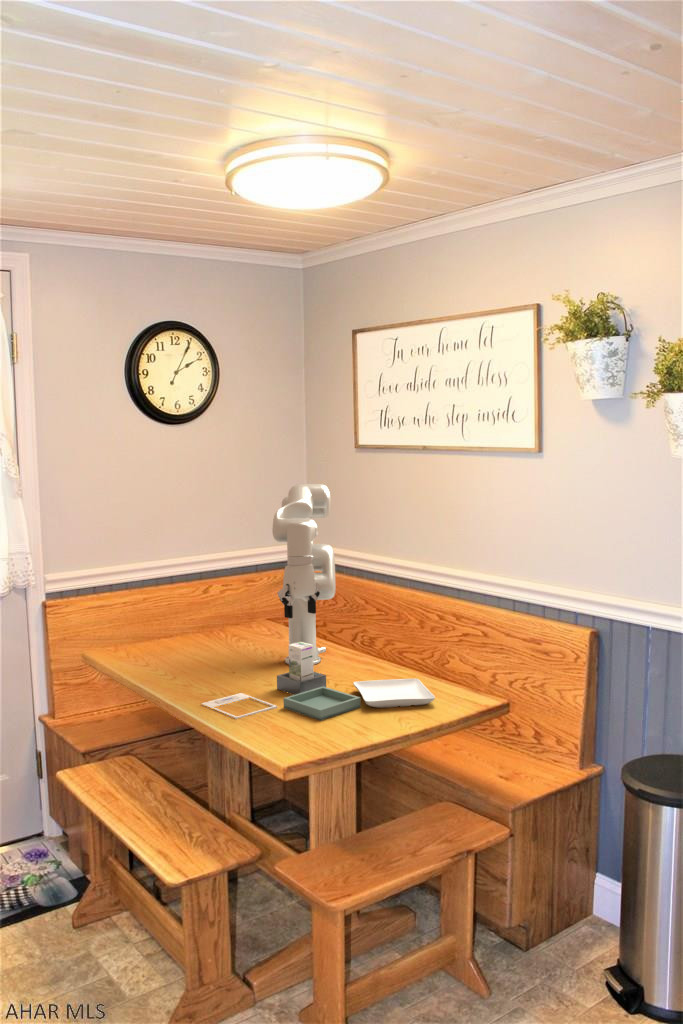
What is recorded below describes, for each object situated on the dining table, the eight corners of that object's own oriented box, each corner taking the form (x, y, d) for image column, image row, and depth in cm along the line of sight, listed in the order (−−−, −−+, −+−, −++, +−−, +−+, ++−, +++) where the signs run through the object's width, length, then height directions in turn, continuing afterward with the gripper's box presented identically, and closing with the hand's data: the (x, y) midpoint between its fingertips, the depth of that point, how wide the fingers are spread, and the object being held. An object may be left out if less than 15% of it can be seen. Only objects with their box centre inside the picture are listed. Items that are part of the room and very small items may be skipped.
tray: (323, 695, 263) (323, 686, 263) (360, 707, 251) (360, 697, 251) (283, 708, 252) (283, 698, 251) (320, 720, 240) (320, 710, 240)
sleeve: (302, 682, 278) (302, 668, 277) (326, 689, 270) (326, 675, 269) (276, 689, 270) (276, 675, 270) (300, 696, 262) (299, 682, 262)
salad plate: (417, 687, 272) (417, 676, 272) (436, 708, 251) (436, 696, 251) (352, 691, 268) (352, 680, 268) (365, 713, 248) (365, 701, 247)
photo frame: (241, 692, 265) (277, 705, 252) (241, 695, 265) (277, 708, 252) (201, 702, 256) (236, 716, 242) (201, 706, 256) (236, 720, 242)
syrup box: (314, 688, 270) (314, 643, 269) (301, 693, 266) (300, 647, 264) (302, 685, 274) (301, 640, 273) (288, 689, 270) (287, 644, 268)
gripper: (311, 557, 275) (312, 609, 276) (270, 562, 263) (271, 617, 264) (328, 559, 269) (328, 612, 271) (286, 565, 257) (287, 621, 259)
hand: (300, 615), depth 267 cm, fingers open, 9 cm apart
